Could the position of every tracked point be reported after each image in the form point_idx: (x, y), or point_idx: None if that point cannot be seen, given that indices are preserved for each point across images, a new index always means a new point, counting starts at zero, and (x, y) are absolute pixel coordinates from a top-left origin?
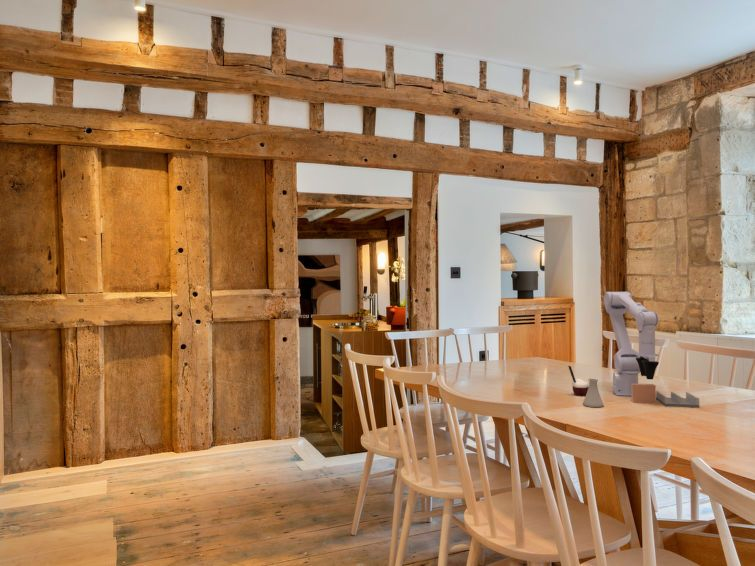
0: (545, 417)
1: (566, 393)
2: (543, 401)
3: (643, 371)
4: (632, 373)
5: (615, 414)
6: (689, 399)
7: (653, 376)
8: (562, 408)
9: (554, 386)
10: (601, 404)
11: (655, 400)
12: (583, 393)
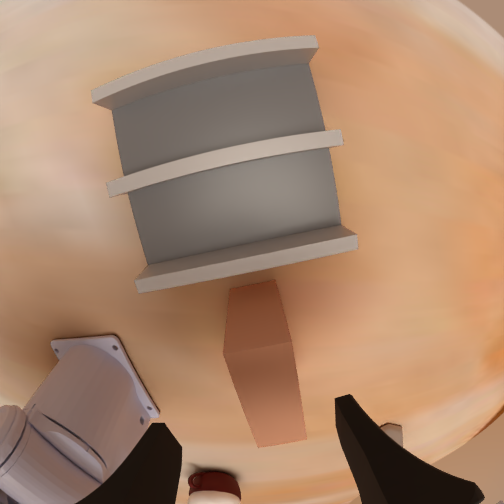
0: (465, 442)
1: None
2: (337, 495)
3: (169, 470)
4: (89, 451)
5: (469, 375)
6: (171, 87)
7: (363, 410)
8: None
9: None
10: (395, 430)
11: (276, 287)
12: (234, 480)
